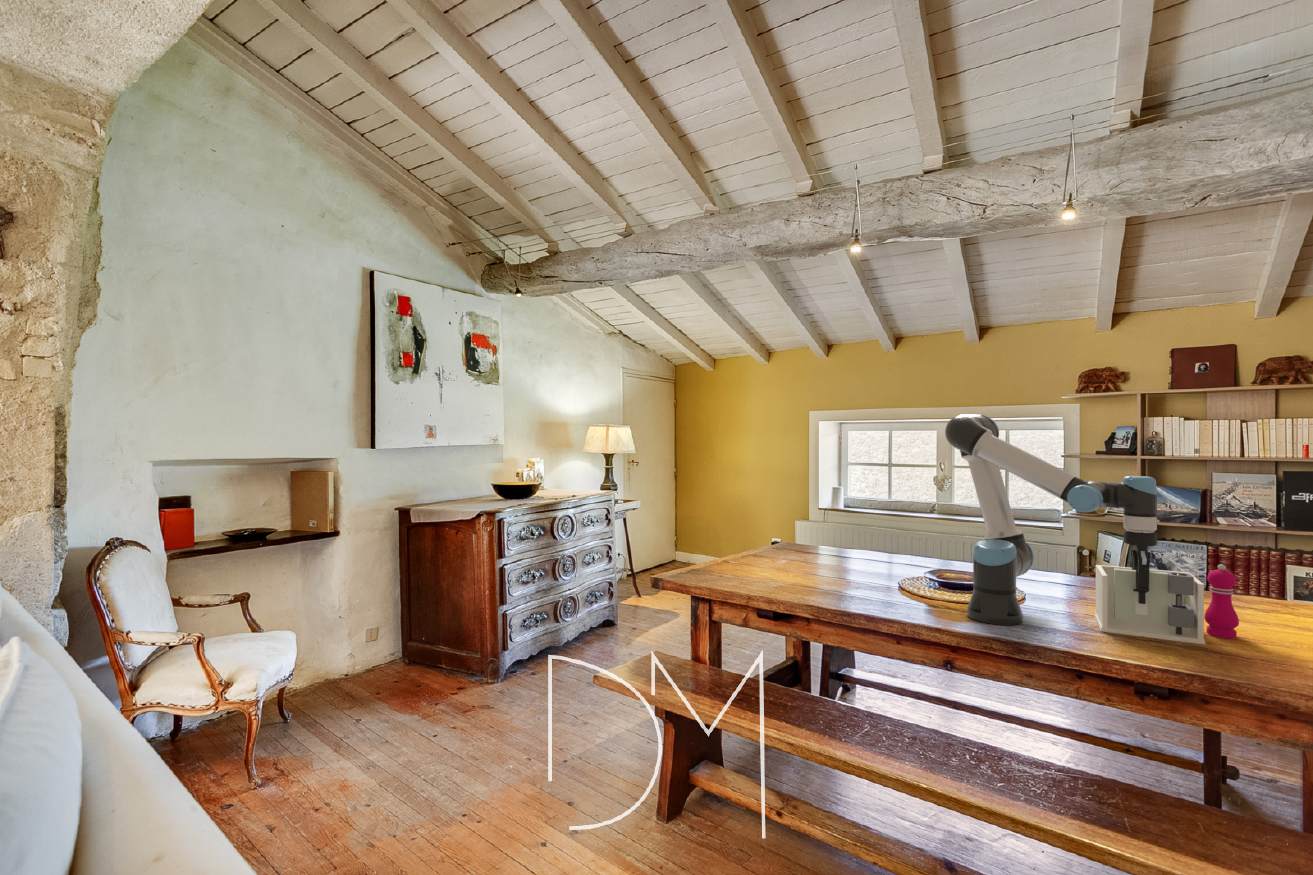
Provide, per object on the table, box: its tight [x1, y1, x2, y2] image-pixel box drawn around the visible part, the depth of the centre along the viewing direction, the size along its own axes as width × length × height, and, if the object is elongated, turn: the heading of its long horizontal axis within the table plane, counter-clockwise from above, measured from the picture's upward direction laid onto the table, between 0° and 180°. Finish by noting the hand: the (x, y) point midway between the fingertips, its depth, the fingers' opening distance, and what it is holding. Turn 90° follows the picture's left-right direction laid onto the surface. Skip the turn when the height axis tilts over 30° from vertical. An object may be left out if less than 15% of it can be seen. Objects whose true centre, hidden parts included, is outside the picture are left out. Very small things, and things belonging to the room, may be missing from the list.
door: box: [1114, 568, 1195, 629], centre depth 176 cm, size 17×5×14 cm, turn 60°
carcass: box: [1094, 564, 1206, 645], centre depth 180 cm, size 23×16×16 cm
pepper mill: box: [1204, 563, 1240, 640], centre depth 175 cm, size 7×7×20 cm
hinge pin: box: [1176, 574, 1182, 635], centre depth 173 cm, size 1×1×17 cm
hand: (1140, 612), depth 177 cm, fingers closed on door, 2 cm apart
